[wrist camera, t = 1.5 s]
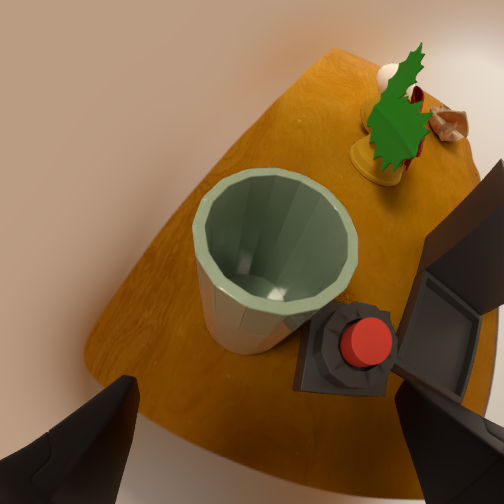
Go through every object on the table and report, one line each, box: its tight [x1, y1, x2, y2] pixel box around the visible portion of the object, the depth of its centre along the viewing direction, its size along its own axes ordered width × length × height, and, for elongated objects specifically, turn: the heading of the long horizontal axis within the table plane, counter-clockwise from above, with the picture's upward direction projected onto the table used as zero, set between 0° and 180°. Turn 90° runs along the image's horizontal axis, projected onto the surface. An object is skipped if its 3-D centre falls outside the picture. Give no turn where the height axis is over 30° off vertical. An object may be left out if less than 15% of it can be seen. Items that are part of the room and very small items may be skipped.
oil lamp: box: [429, 105, 469, 142], centre depth 38 cm, size 9×21×10 cm, turn 144°
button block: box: [293, 301, 398, 397], centre depth 19 cm, size 7×7×4 cm
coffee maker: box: [391, 159, 504, 404], centre depth 17 cm, size 16×10×14 cm, turn 146°
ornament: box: [349, 43, 434, 186], centre depth 27 cm, size 21×8×15 cm, turn 160°
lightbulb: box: [376, 63, 416, 99], centre depth 34 cm, size 6×6×11 cm
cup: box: [192, 168, 358, 355], centre depth 16 cm, size 7×7×12 cm
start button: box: [340, 317, 392, 368], centre depth 17 cm, size 3×3×2 cm
